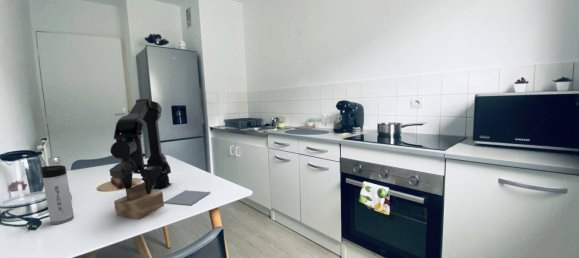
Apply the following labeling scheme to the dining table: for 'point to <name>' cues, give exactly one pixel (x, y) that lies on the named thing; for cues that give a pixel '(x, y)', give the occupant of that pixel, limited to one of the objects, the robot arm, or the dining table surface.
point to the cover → (138, 202)
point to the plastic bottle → (55, 162)
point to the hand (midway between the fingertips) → (138, 193)
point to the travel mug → (57, 194)
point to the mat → (187, 197)
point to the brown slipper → (119, 184)
